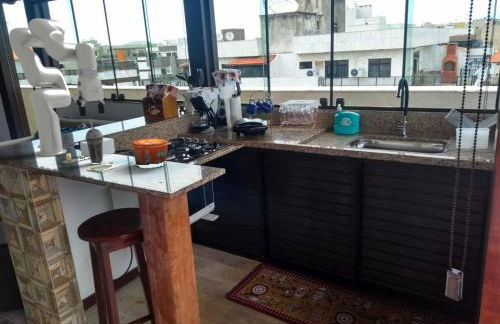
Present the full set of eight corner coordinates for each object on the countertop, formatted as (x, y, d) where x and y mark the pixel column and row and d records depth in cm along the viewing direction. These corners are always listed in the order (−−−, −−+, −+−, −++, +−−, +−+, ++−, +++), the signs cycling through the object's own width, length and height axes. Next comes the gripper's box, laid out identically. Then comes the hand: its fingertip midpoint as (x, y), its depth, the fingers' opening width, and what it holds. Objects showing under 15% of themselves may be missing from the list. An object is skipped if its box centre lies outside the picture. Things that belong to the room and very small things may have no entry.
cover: (81, 156, 175) (79, 142, 173) (104, 151, 187) (103, 137, 185) (91, 158, 172) (90, 143, 170) (114, 152, 184) (113, 138, 182)
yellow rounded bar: (61, 162, 164) (59, 154, 163) (82, 157, 174) (81, 149, 173) (68, 164, 162) (67, 155, 161) (90, 158, 172) (89, 150, 171)
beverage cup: (109, 161, 166) (104, 118, 161) (98, 165, 159) (93, 120, 154) (95, 160, 168) (90, 117, 163) (84, 164, 161) (79, 119, 156)
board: (86, 170, 153) (86, 168, 152) (119, 160, 168) (119, 158, 168) (100, 172, 149) (100, 170, 149) (132, 162, 165) (132, 160, 164)
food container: (177, 163, 163) (176, 140, 161) (149, 172, 150) (148, 146, 148) (152, 158, 172) (151, 136, 169) (124, 166, 159) (122, 142, 156)
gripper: (76, 74, 145) (81, 117, 149) (110, 73, 159) (114, 112, 164) (63, 74, 148) (69, 116, 152) (98, 73, 163) (102, 112, 167)
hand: (92, 114), depth 158 cm, fingers open, 9 cm apart
